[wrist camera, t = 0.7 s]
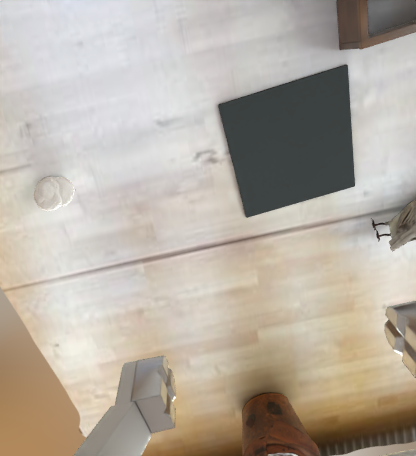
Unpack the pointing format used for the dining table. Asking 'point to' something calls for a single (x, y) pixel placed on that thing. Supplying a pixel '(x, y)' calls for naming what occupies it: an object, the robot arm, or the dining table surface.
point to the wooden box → (364, 26)
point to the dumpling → (53, 193)
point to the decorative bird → (401, 227)
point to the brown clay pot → (274, 429)
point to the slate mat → (291, 141)
